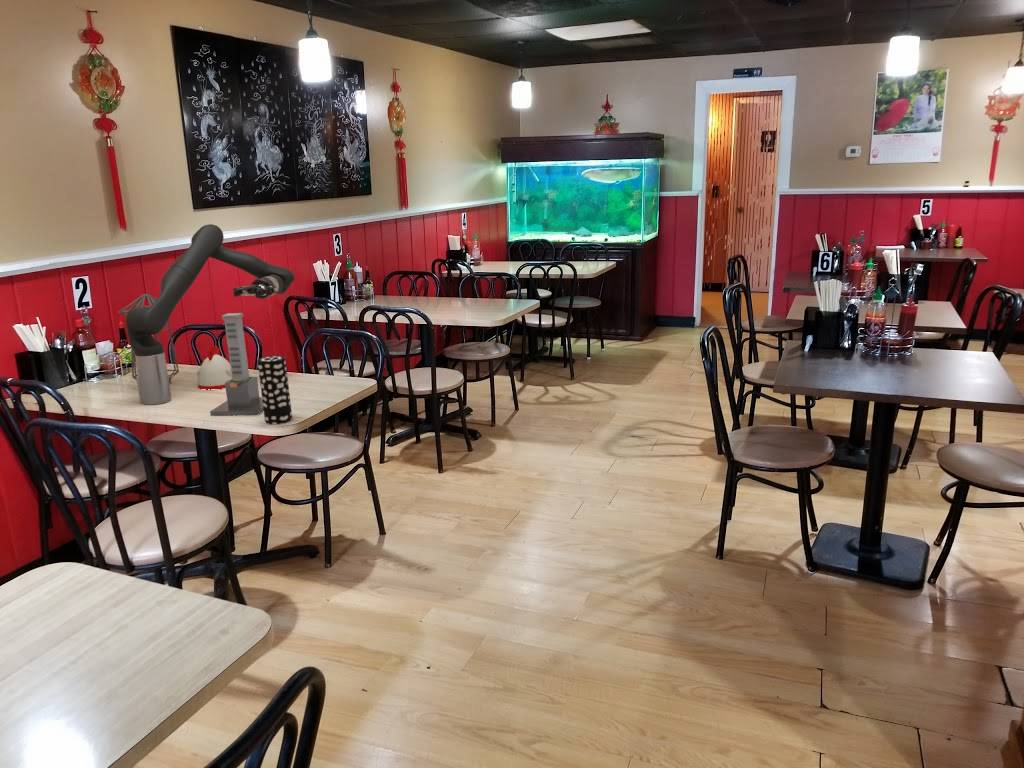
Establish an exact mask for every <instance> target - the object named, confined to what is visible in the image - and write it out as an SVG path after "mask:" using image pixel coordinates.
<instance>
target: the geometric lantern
mask: <svg viewBox="0 0 1024 768" xmlns="http://www.w3.org/2000/svg"><path fill="white" fill-rule="evenodd" d="M146 299H147V300H148V303H149V305H150V306H149V305H144V303H145V301H146ZM157 299H158V297H155V296H153V295H151V294H148V293H145V294H144V293H143V294H142V295H141V296H139V297H138V298H136V299H135V300H134V301H132V302H131V303H129V304H128V305H126V306H125V307H123V308H121V309H120V310H118V314H122V315H123V316H127V313H128V311H129V310H130V309H132V308H135V307H151V306H152V305H153V304H154V303H155V301H156V300H157ZM129 307H130V308H129ZM176 307H177V306H176ZM176 307H175V308H174V310H175V309H176ZM127 308H129V309H128V310H127ZM165 325H167V326H164V327H163V329H162V330H161V331H160V332H159V333H157V337H158V342H160V343H161V344H162V342H161V335H160V333H161V332H165V331H168V334H169V342H170V348H171V349H170V350H171V355H172V356H171V357H172V361H173V369H167V372H172V373H170V374H168V379H169V382H170V383H171V384H172V383H173V382H172V379H173V378H174V377H175V376H176V375H177V374H178V373H180V370H179V365H178V361H177V355H176V350H175V346H174V340H173V335H172V330H171V325H170V318H169V319H168V321H167V323H166V324H165ZM164 328H165V329H164ZM152 336H153V338H154V339H155V340H156V338H155V334H153V335H152ZM130 348H131V351H130V352H131V355H130V356H131V373H132V375H131V377H132V379H134V380H135V381H137V380H136V377H137V376H138V373H137V364H136V358H135V353H134V350H133V349H132V347H131V346H130ZM170 383H169V385H171V384H170Z"/></svg>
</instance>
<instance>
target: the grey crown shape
mask: <svg viewBox="0 0 1024 768" xmlns="http://www.w3.org/2000/svg"><path fill="white" fill-rule="evenodd" d="M208 353H209V354H207V357H206V358H205V359H204V360H203V362H202V364H201V365H200V368H199V369H197V372H196V373H197V388H198V389H199V388H200V389H199V390H201V389H206V390H205V391H212V390H211V389H220V390H223V389H222V388H226V387H225V382H227V381H229V380H230V379H232V373H231V366H230V361H229V360H227V359H226V358H225V357H223V356H221V355H220V353H221V352H220V347H219V346H218V345H212V346H210V350H208ZM208 389H210V390H208Z"/></svg>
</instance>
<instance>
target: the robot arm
mask: <svg viewBox="0 0 1024 768" xmlns="http://www.w3.org/2000/svg"><path fill="white" fill-rule="evenodd" d="M190 240H191V245H190V246H189V247H188V248H187V249H186V250H185V251H184V252H183V253H182V254H180V255H179V257H178V258H176V260H175V261H174V262H173V263H172V264H171V265H170V266H169V267H168V269H167V270H166V272H165V273H164V274H163V275H162V277H161V280H160V292H159V293H160V294H159V296H158V297H157V298H158V299H157V300H156V299H155V300H156V301H155V303H154V304H153V305H152V306H151V305H150V307H135V306H134V307H133V308H132V309H130V308H129V309H130V310H129V309H128V310H129V311H128V313H126V314H127V316H126V317H125V325H126V327H125V328H126V331H127V334H128V335H127V336H128V340H129V343H130V348H131V347H132V349H133V350H134V355H135V365H136V371H137V374H138V376H137V377H136V378H135V379H136V380H135V381H136V386H137V391H138V398H139V403H140V404H141V405H142V404H143V405H147V406H148V405H153V404H154V405H159V404H160V403H161V404H164V403H168V402H170V401H172V399H173V398H172V392H171V387H170V385H171V384H169V378H168V375H169V374H168V372H169V371H167V370H168V367H167V362H166V354H165V348H164V345H163V344H162V342H161V343H160V342H159V340H157V339H156V338H155V337H154V338H155V339H154V338H153V334H154V335H158V333H159V334H160V333H161V332H160V331H162V330H164V328H163V327H166V325H167V324H168V319H169V320H170V317H171V315H172V314H173V312H174V310H175V309H176V308H175V307H177V305H179V303H180V301H181V299H182V298H183V297H184V295H185V294H186V293H187V291H189V289H190V288H191V286H192V285H193V284H194V282H195V280H196V279H197V278H198V276H199V275H200V273H201V271H202V269H203V268H204V266H205V264H206V262H207V261H208V260H209V258H212V259H215V260H217V261H220V262H223V263H225V264H228V265H230V266H233V267H235V268H237V269H240V270H242V271H244V272H245V273H248V274H249V275H251V276H253V277H255V278H256V279H253V281H252V282H251V284H249V285H245V286H244V285H243V286H242V285H241V286H238V287H233V289H232V290H233V296H234V297H240V296H244V297H247V296H250V297H251V296H253V297H256V299H260V300H261V299H262V300H264V299H266V298H269V297H272V296H274V295H275V294H277V295H279V296H280V295H284V294H285V293H286V292H287V291H288V289H289V288H290V287H291V285H292V284H293V282H294V280H295V278H296V277H295V276H296V275H295V274H294V272H293V271H292V270H290V269H289V268H286V267H282V266H278V265H275V264H271V263H268V262H266V261H264V260H263V259H261V258H259V257H258V256H256V255H252V254H250V253H246V252H242V251H238V250H234V249H231V248H228V247H226V246H224V245H222V244H223V242H224V240H225V239H224V233H223V231H222V229H221V227H219V226H218V225H216V224H210V223H208V224H205V225H203V226H201V227H199V229H198V230H196V232H195V233H194V234H193V235H192V237H191V239H190ZM174 308H175V309H174ZM166 323H167V324H166Z"/></svg>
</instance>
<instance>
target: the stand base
mask: <svg viewBox="0 0 1024 768" xmlns="http://www.w3.org/2000/svg"><path fill="white" fill-rule="evenodd" d="M249 378H250V379H249V380H248V381H246V382H233V380H232V379H230V380H229V381H227V382H225V387H226V389H225V394H226V401H224V402H222V403H221V404H219V405H218V406H217V407H215V408H213V409H212V410H210V411H209V412H210V417H211V416H212V417H219V416H220V417H221V416H222V417H224V416H225V417H228V416H229V417H231V416H232V417H233V415H235V416H237V415H258V414H259V415H261V414H262V413H264V412H263V411H264V410H263V402H262V396H261V397H260V391H259V383H258V376H249ZM261 412H262V413H261ZM260 413H261V414H260ZM259 415H258V416H259ZM235 416H234V417H235Z"/></svg>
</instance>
